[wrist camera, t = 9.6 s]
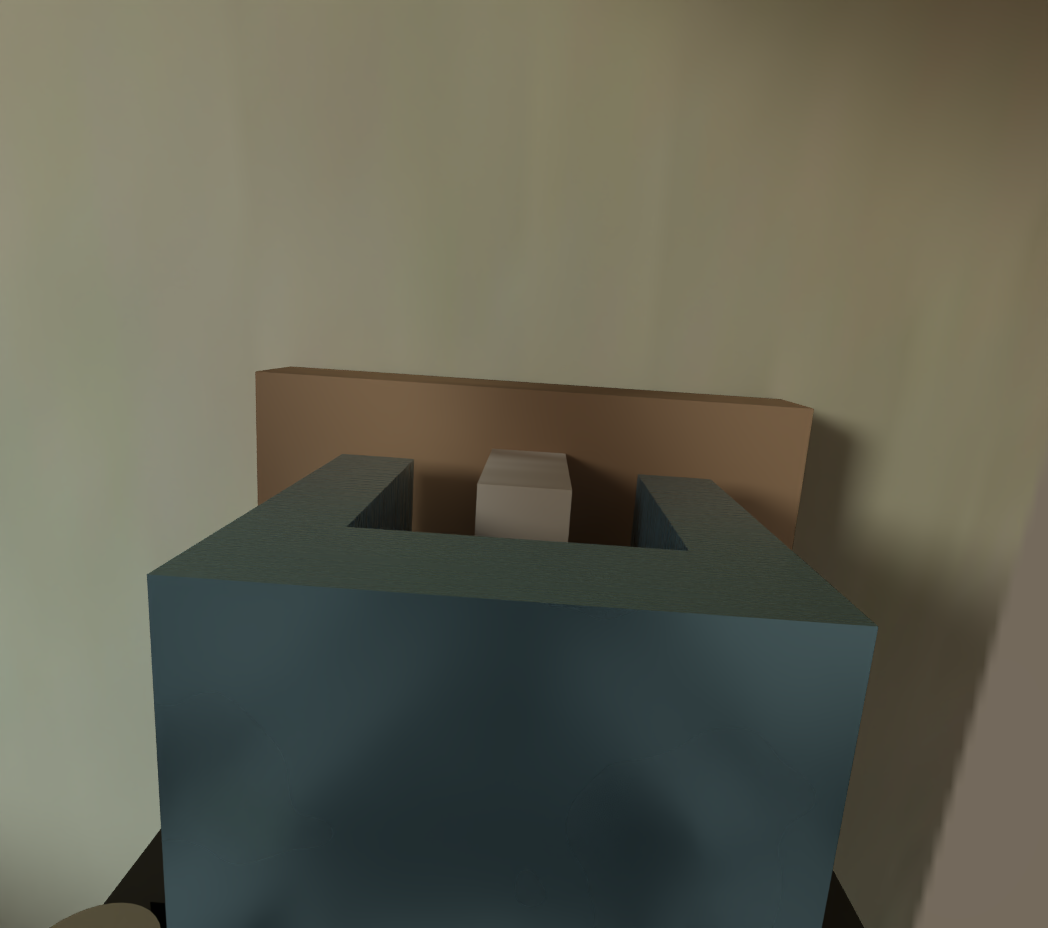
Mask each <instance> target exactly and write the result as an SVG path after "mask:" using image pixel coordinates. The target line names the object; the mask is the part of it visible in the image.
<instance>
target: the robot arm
mask: <svg viewBox="0 0 1048 928" xmlns="http://www.w3.org/2000/svg"><path fill="white" fill-rule="evenodd" d="M50 928H167V923H166V905H165V887H164V869H163V852H162V834H161V829H160V831H159V832H158V833H157V835H156V836H155V837H154V839H153V840H152V841H151V843H150V844H149V845H148V846H147V848H146V849H145V850H144V852H143V853H142V854H141V856H140V857H139V858H138V860H137V861H136V862H135V863H134V865H133V866H132V867H131V869H130V870H129V871H128V873H127V874H126V875H125V877H124V878H123V879H122V881H121V882H120V883H119V884H118V886H117V887H116V888H115V890H114V891H113V892H112V894H111V895H110V896H109V898H108V899H107V900H106V901H105V903H104V904H103V905H99V906H95V907H92V908H88V909H85V910H83V911H80V912H78V913H75V914H73V915H71V916H69V917H67V918H65V919H63V920H61V921H59V922H58V923H56V924H55V925H53V926H52V927H50ZM822 928H864V927H863V925H862V923H861V921H860V919H859V917H858V916H857V914H856V912H855V910H854V908H853V906H852V905H851V903H850V901H849V899H848V897H847V895H846V893H845V892H844V890H843V888H842V886H841V884H840V882H839V880H838V879H837V877H836V875H835V873H834V871H833V870H832V875H831V881H830V886H829V891H828V897H827V902H826V907H825V913H824V918H823V923H822Z"/></svg>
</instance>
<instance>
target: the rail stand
mask: <svg viewBox="0 0 1048 928" xmlns="http://www.w3.org/2000/svg"><path fill="white" fill-rule="evenodd" d="M255 377H256V429H257V481H258V506H259V505H260V504H262V503H264V502H265V501H267V500H268V499H270V498H272V497H273V496H275V495H277V494H278V493H280V492H281V491H283V490H285V489H286V488H288V487H289V486H291V485H293V484H294V483H296V482H298V481H299V480H301V479H302V478H304V477H306V476H307V475H309V474H311V473H312V472H314V471H315V470H317V469H319V468H320V467H322V466H323V465H325V464H327V463H328V462H330V461H332V460H333V459H335V458H336V457H338V456H340V455H341V454H351V455H365V456H380V457H394V458H409V459H414V480H413V513H412V532H427V533H441V534H455V535H469V536H484V537H498V538H512V539H526V540H541V541H555V542H569V543H584V544H598V545H612V546H626V547H630V546H631V536H632V526H633V517H634V507H635V497H636V487H637V478H638V474H642V475H657V476H671V477H686V478H700V479H711V480H712V481H713V482H714V483H716V484H717V485H718V486H719V487H720V488H721V489H722V490H723V491H725V492H726V493H727V494H728V495H729V496H730V497H731V498H733V499H734V500H735V501H736V502H737V503H738V504H739V505H741V506H742V507H743V508H744V509H745V510H746V511H747V512H748V513H750V514H751V515H752V516H753V517H754V518H755V519H756V520H758V521H759V522H760V523H761V524H762V525H763V526H764V527H766V528H767V529H768V530H769V531H770V532H771V533H772V534H774V535H775V536H776V537H777V538H778V539H779V540H780V541H781V542H783V543H784V544H785V545H786V546H787V547H788V548H789V549H791V550H792V547H793V541H794V535H795V528H796V522H797V515H798V509H799V502H800V496H801V489H802V483H803V476H804V470H805V463H806V457H807V451H808V444H809V438H810V431H811V425H812V418H813V412H814V409H812V408H809V407H806V406H802V405H799V404H795V403H792V402H788V401H785V400H781V399H769V398H754V397H739V396H724V395H709V394H694V393H679V392H664V391H649V390H634V389H619V388H604V387H589V386H574V385H559V384H544V383H529V382H514V381H499V380H484V379H469V378H454V377H439V376H424V375H409V374H394V373H379V372H364V371H349V370H334V369H319V368H304V367H284V368H277V369H270V370H263V371H256V372H255Z"/></svg>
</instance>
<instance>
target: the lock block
mask: <svg viewBox="0 0 1048 928" xmlns="http://www.w3.org/2000/svg"><path fill="white" fill-rule="evenodd" d="M413 480H414V459H409V458H394V457H380V456H365V455H351V454H341V455H340V456H338V457H336V458H335V459H333V460H332V461H330V462H328V463H327V464H325V465H323V466H322V467H320V468H319V469H317V470H315V471H314V472H312V473H311V474H309V475H307V476H306V477H304V478H302V479H301V480H299V481H298V482H296V483H294V484H293V485H291V486H289V487H288V488H286V489H285V490H283V491H281V492H280V493H278V494H277V495H275V496H273V497H272V498H270V499H268V500H267V501H265V502H264V503H262V504H260V505H259V506H257V507H255V508H254V509H252V510H251V511H249V512H247V513H246V514H244V515H243V516H241V517H239V518H238V519H236V520H234V521H233V522H231V523H230V524H228V525H226V526H225V527H223V528H221V529H220V530H218V531H217V532H215V533H213V534H212V535H210V536H209V537H207V538H205V539H204V540H202V541H200V542H199V543H197V544H196V545H194V546H192V547H191V548H189V549H187V550H186V551H184V552H183V553H181V554H179V555H178V556H176V557H174V558H173V559H171V560H170V561H168V562H166V563H165V564H163V565H162V566H160V567H158V568H157V569H155V570H153V571H152V572H150V573H149V574H147V583H148V601H149V619H150V637H151V655H152V673H153V691H154V709H155V726H156V744H157V762H158V780H159V798H160V816H161V834H162V852H163V869H164V887H165V905H166V923H167V928H822V923H823V918H824V913H825V907H826V902H827V897H828V891H829V886H830V881H831V875H832V870H833V865H834V859H835V854H836V849H837V844H838V838H839V833H840V828H841V822H842V817H843V812H844V806H845V801H846V796H847V790H848V785H849V780H850V774H851V769H852V764H853V759H854V753H855V748H856V743H857V737H858V732H859V727H860V721H861V716H862V711H863V705H864V700H865V695H866V689H867V684H868V679H869V674H870V668H871V663H872V658H873V652H874V647H875V642H876V636H877V631H878V626H877V625H876V624H875V623H874V622H872V621H871V620H870V619H869V618H868V617H867V616H866V615H864V614H863V613H862V612H861V611H860V610H859V609H858V608H856V607H855V606H854V605H853V604H852V603H851V602H850V601H849V600H847V599H846V598H845V597H844V596H843V595H842V594H841V593H839V592H838V591H837V590H836V589H835V588H834V587H833V586H831V585H830V584H829V583H828V582H827V581H826V580H825V579H824V578H822V577H821V576H820V575H819V574H818V573H817V572H816V571H814V570H813V569H812V568H811V567H810V566H809V565H808V564H806V563H805V562H804V561H803V560H802V559H801V558H800V557H799V556H797V555H796V554H795V553H794V552H793V551H792V550H791V549H789V548H788V547H787V546H786V545H785V544H784V543H783V542H781V541H780V540H779V539H778V538H777V537H776V536H775V535H774V534H772V533H771V532H770V531H769V530H768V529H767V528H766V527H764V526H763V525H762V524H761V523H760V522H759V521H758V520H756V519H755V518H754V517H753V516H752V515H751V514H750V513H748V512H747V511H746V510H745V509H744V508H743V507H742V506H741V505H739V504H738V503H737V502H736V501H735V500H734V499H733V498H731V497H730V496H729V495H728V494H727V493H726V492H725V491H723V490H722V489H721V488H720V487H719V486H718V485H717V484H716V483H714V482H713V481H712V480H711V479H700V478H686V477H671V476H657V475H642V474H638V478H637V487H636V497H635V507H634V517H633V526H632V536H631V546H630V547H626V546H612V545H598V544H584V543H569V542H555V541H541V540H526V539H512V538H498V537H484V536H469V535H455V534H441V533H427V532H412V513H413Z"/></svg>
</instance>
